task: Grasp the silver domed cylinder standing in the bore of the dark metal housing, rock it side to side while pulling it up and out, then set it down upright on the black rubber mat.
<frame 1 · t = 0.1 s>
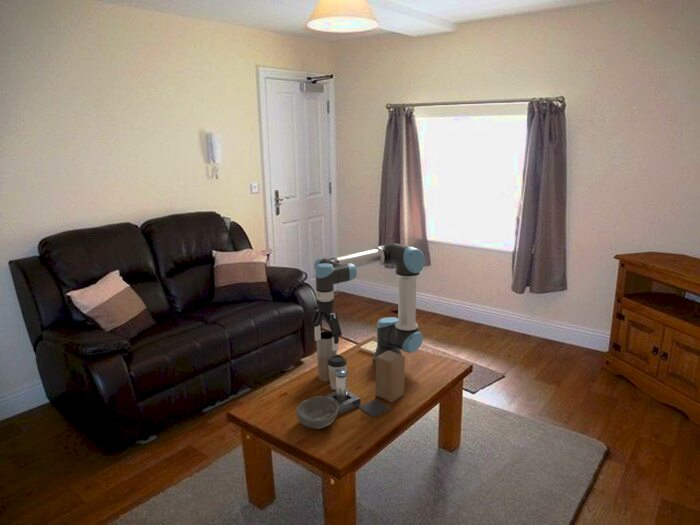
hand: (326, 344, 219), 28 cm above the table, fingers open, 13 cm apart
housing: (341, 404, 223), on the table
silver domed cylinder: (341, 388, 221), in the housing
planter: (327, 376, 248), on the table
bowl: (318, 424, 209), on the table
mat: (374, 408, 219), on the table
coffee cup: (337, 386, 239), on the table
wooden block: (389, 395, 230), on the table
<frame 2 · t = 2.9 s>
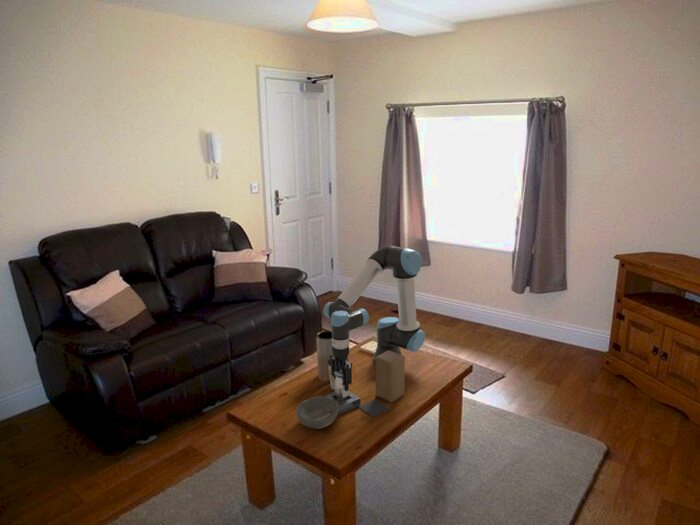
hand: (341, 393, 222), 5 cm above the table, fingers closed on silver domed cylinder, 5 cm apart
silver domed cylinder: (341, 388, 221), in the housing, touching gripper
everything else where it was.
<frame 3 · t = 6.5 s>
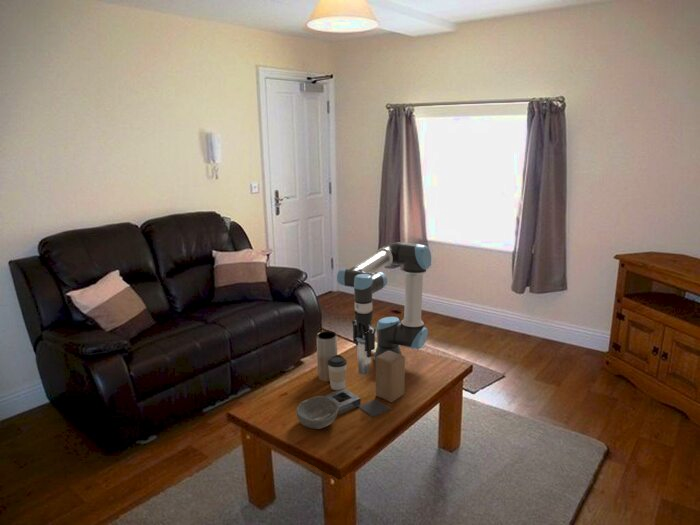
hand: (363, 360, 215), 23 cm above the table, fingers closed on silver domed cylinder, 5 cm apart
silver domed cylinder: (363, 355, 214), point 25 cm above the table, touching gripper
everything else where it was.
when the fingers open (7 cm above the table, at t = 10.0 s): silver domed cylinder drops 1 cm, resting on mat.
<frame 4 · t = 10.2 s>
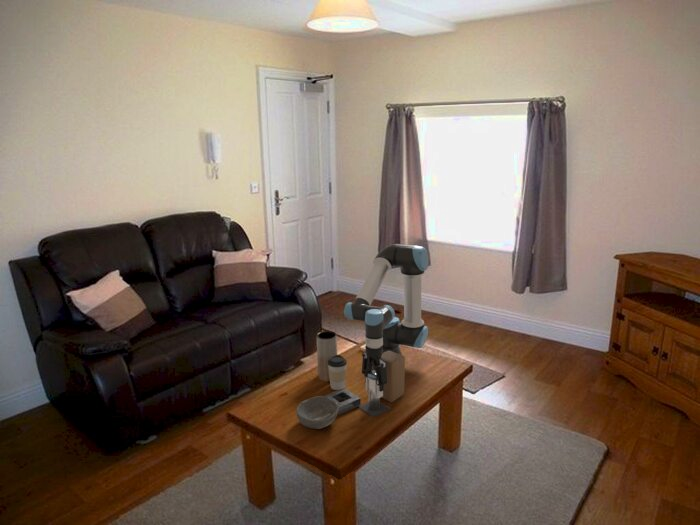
hand: (374, 393, 217), 8 cm above the table, fingers open, 7 cm apart
silver domed cylinder: (374, 390, 217), on the mat
everything else where it was.
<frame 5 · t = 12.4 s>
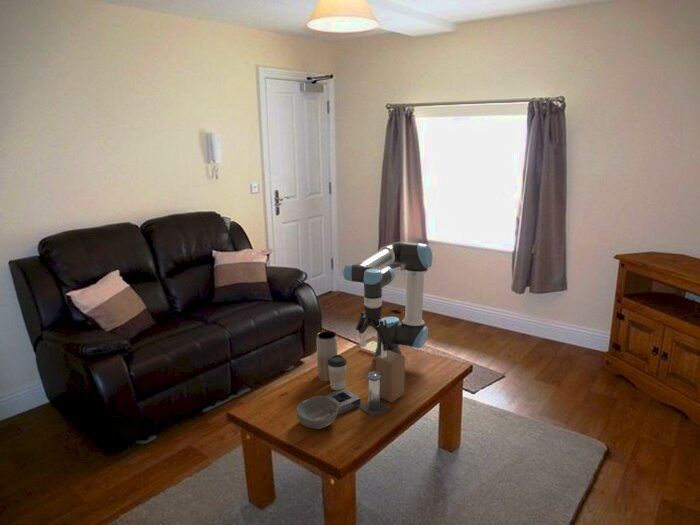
hand: (373, 351, 214), 27 cm above the table, fingers open, 13 cm apart
nothing on the table moved.
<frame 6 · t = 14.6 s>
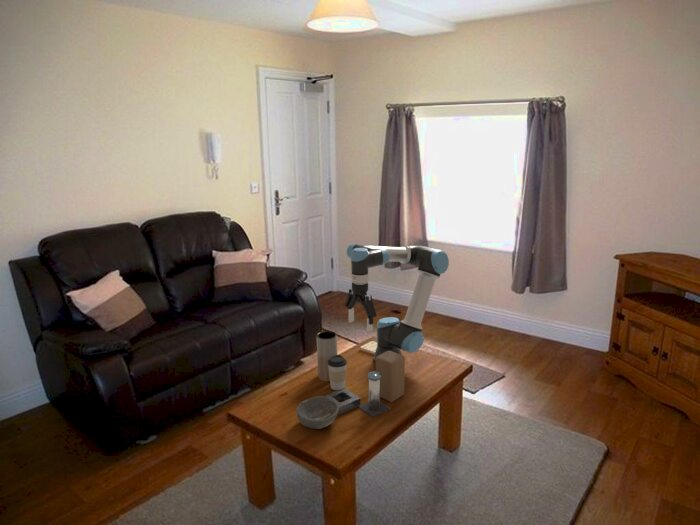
hand: (360, 326, 229), 32 cm above the table, fingers open, 13 cm apart
nothing on the table moved.
at the end: silver domed cylinder inside the target area on the mat (0.0 cm from its centre), point 8.6 cm above the mat's base; silver domed cylinder tilted 0°; silver domed cylinder touching mat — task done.
